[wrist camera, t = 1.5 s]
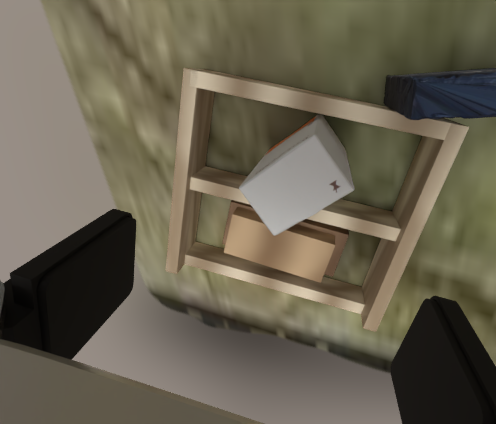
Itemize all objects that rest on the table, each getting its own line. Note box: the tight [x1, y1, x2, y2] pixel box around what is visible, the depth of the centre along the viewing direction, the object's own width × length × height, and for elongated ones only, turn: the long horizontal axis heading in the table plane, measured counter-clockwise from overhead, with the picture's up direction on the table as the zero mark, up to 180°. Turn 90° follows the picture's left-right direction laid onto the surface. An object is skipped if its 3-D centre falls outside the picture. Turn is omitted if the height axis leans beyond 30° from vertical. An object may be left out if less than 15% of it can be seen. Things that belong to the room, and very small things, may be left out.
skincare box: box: [239, 114, 354, 236], centre depth 25 cm, size 6×4×12 cm
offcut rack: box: [166, 68, 469, 332], centre depth 30 cm, size 21×19×5 cm
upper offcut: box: [224, 207, 335, 283], centre depth 32 cm, size 10×4×2 cm, turn 77°
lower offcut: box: [222, 200, 349, 277], centre depth 34 cm, size 12×5×2 cm, turn 78°
